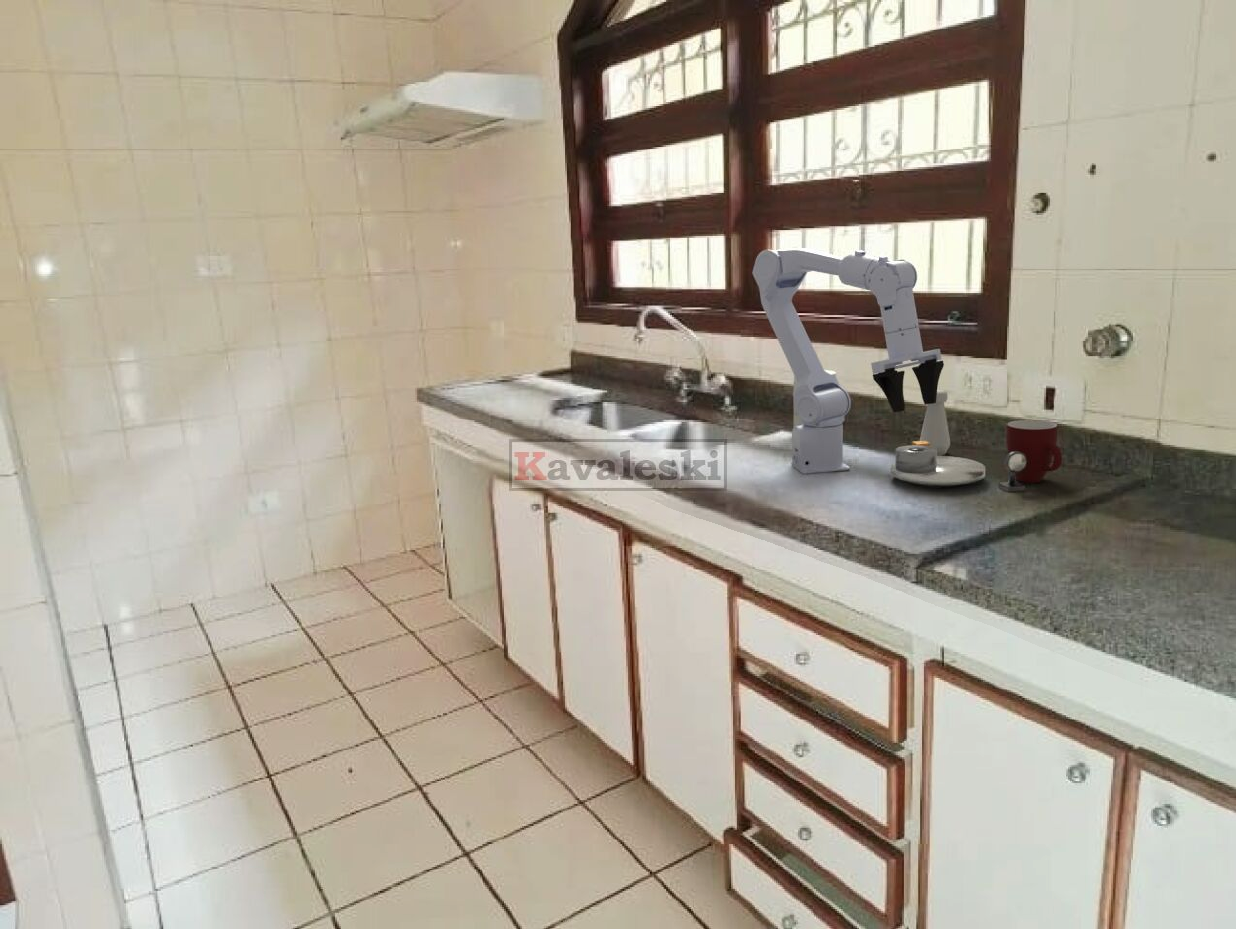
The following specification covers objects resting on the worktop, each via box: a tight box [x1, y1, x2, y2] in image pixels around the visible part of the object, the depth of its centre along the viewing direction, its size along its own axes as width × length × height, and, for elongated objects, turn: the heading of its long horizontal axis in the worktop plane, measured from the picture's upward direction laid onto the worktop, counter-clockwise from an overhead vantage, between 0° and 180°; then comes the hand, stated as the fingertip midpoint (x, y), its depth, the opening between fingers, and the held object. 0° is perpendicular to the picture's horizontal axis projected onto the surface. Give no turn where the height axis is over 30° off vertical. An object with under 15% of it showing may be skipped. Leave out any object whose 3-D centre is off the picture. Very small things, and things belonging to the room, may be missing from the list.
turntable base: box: [912, 483, 964, 489], centre depth 152 cm, size 10×10×1 cm
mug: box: [1005, 419, 1063, 484], centre depth 146 cm, size 11×8×10 cm
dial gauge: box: [998, 451, 1027, 493], centre depth 143 cm, size 4×3×7 cm
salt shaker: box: [919, 388, 951, 456], centre depth 168 cm, size 6×6×13 cm
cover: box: [894, 444, 937, 474], centre depth 151 cm, size 7×7×4 cm
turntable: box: [890, 440, 986, 485], centre depth 151 cm, size 16×16×4 cm
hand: (914, 407), depth 146 cm, fingers open, 7 cm apart
